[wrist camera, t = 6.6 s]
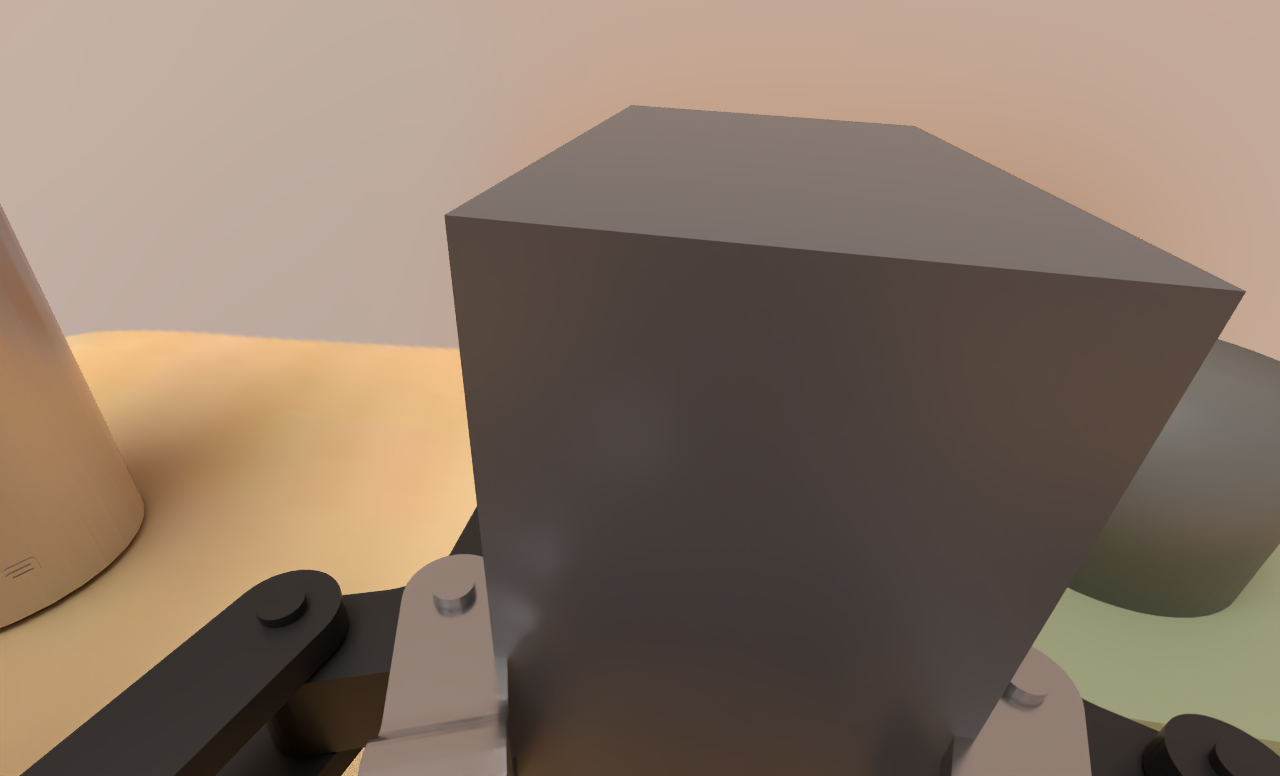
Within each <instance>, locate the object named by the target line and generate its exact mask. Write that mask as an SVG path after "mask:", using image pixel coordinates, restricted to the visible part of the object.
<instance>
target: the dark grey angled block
mask: <svg viewBox="0 0 1280 776" xmlns="http://www.w3.org/2000/svg"><path fill="white" fill-rule="evenodd" d="M445 224H446V233H447V241H448V250H449V259H450V268H451V277H452V286H453V294H454V304H455V312H456V322H457V330H458V339H459V348H460V357H461V366H462V375H463V384H464V393H465V401H466V410H467V419H468V428H469V437H470V446H471V455H472V464H473V472H474V481H475V490H476V499H477V508H478V517H479V526H480V535H481V543H482V552H483V561H484V570H485V579H486V588H487V597H488V606H489V614H490V623H491V632H492V641H493V650H494V657H496V658H502V659H507V663H508V674H509V684H510V723H511V750H512V757H516V758H517V767H518V776H939V772H940V763H941V759H942V757H943V755H944V753H945V752H946V750H947V748H948V746H949V745H950V743H951V741H952V739H953V738H954V736H959V737H965V738H971V739H976V738H977V736H978V734H979V733H980V731H981V729H982V728H983V726H984V725H985V723H986V721H987V720H988V718H989V716H990V715H991V713H992V711H993V710H994V708H995V706H996V705H997V703H998V701H999V700H1000V698H1001V696H1002V695H1003V693H1004V691H1005V690H1006V688H1007V686H1008V685H1009V683H1010V681H1011V680H1012V678H1013V676H1014V675H1015V673H1016V672H1017V670H1018V668H1019V667H1020V665H1021V663H1022V662H1023V660H1024V658H1025V657H1026V655H1027V653H1028V652H1029V650H1030V648H1031V647H1032V645H1033V643H1034V642H1035V640H1036V638H1037V637H1038V635H1039V633H1040V632H1041V630H1042V628H1043V627H1044V625H1045V624H1046V622H1047V620H1048V619H1049V617H1050V615H1051V614H1052V612H1053V610H1054V609H1055V607H1056V605H1057V604H1058V602H1059V600H1060V599H1061V597H1062V595H1063V594H1064V592H1065V590H1066V589H1067V587H1068V585H1069V584H1070V582H1071V580H1072V579H1073V577H1074V575H1075V574H1076V572H1077V571H1078V569H1079V567H1080V566H1081V564H1082V562H1083V561H1084V559H1085V557H1086V556H1087V554H1088V552H1089V551H1090V549H1091V547H1092V546H1093V544H1094V542H1095V541H1096V539H1097V537H1098V536H1099V534H1100V532H1101V531H1102V529H1103V527H1104V526H1105V524H1106V523H1107V521H1108V519H1109V518H1110V516H1111V514H1112V513H1113V511H1114V509H1115V508H1116V506H1117V504H1118V503H1119V501H1120V499H1121V498H1122V496H1123V494H1124V493H1125V491H1126V489H1127V488H1128V486H1129V484H1130V483H1131V481H1132V479H1133V478H1134V476H1135V474H1136V473H1137V471H1138V470H1139V468H1140V466H1141V465H1142V463H1143V461H1144V460H1145V458H1146V456H1147V455H1148V453H1149V451H1150V450H1151V448H1152V446H1153V445H1154V443H1155V441H1156V440H1157V438H1158V436H1159V435H1160V433H1161V431H1162V430H1163V428H1164V426H1165V425H1166V423H1167V422H1168V420H1169V418H1170V417H1171V415H1172V413H1173V412H1174V410H1175V408H1176V407H1177V405H1178V403H1179V402H1180V400H1181V398H1182V397H1183V395H1184V393H1185V392H1186V390H1187V388H1188V387H1189V385H1190V383H1191V382H1192V380H1193V378H1194V377H1195V375H1196V373H1197V372H1198V370H1199V369H1200V367H1201V365H1202V364H1203V362H1204V360H1205V359H1206V357H1207V355H1208V354H1209V352H1210V350H1211V349H1212V347H1213V345H1214V344H1215V342H1216V340H1217V339H1218V337H1219V335H1220V334H1221V332H1222V330H1223V329H1224V327H1225V325H1226V324H1227V322H1228V320H1229V319H1230V317H1231V315H1232V314H1233V312H1234V310H1235V309H1236V307H1237V305H1238V304H1239V302H1240V301H1241V299H1242V297H1243V296H1244V294H1245V292H1246V291H1244V290H1242V289H1240V288H1238V287H1236V286H1234V285H1232V284H1230V283H1228V282H1226V281H1224V280H1222V279H1220V278H1218V277H1216V276H1214V275H1212V274H1210V273H1208V272H1206V271H1204V270H1202V269H1200V268H1198V267H1196V266H1194V265H1192V264H1190V263H1188V262H1186V261H1184V260H1182V259H1180V258H1178V257H1176V256H1174V255H1172V254H1170V253H1168V252H1166V251H1164V250H1162V249H1160V248H1158V247H1156V246H1154V245H1152V244H1150V243H1148V242H1146V241H1144V240H1142V239H1140V238H1138V237H1136V236H1134V235H1132V234H1130V233H1128V232H1126V231H1124V230H1122V229H1120V228H1118V227H1116V226H1114V225H1112V224H1110V223H1108V222H1106V221H1104V220H1102V219H1100V218H1098V217H1096V216H1094V215H1092V214H1090V213H1088V212H1086V211H1084V210H1082V209H1080V208H1078V207H1076V206H1074V205H1072V204H1070V203H1068V202H1066V201H1064V200H1062V199H1060V198H1058V197H1056V196H1054V195H1052V194H1050V193H1048V192H1046V191H1044V190H1042V189H1040V188H1038V187H1036V186H1034V185H1032V184H1030V183H1028V182H1026V181H1024V180H1022V179H1020V178H1018V177H1016V176H1014V175H1012V174H1010V173H1008V172H1006V171H1004V170H1002V169H1000V168H998V167H996V166H994V165H992V164H989V163H988V162H986V161H984V160H981V159H980V158H978V157H975V156H974V155H972V154H970V153H968V152H966V151H964V150H962V149H960V148H957V147H955V146H953V145H951V144H950V143H948V142H945V141H943V140H942V139H939V138H938V137H935V136H934V135H931V134H930V133H928V132H926V131H924V130H922V129H919V128H917V127H915V126H906V125H892V124H879V123H864V122H852V121H851V122H850V121H838V120H824V119H810V118H797V117H783V116H770V115H756V114H742V113H729V112H716V111H702V110H689V109H688V110H687V109H675V108H661V107H648V106H634V105H631V106H629V107H628V108H626V109H624V110H622V111H621V112H619V113H617V114H616V115H614V116H612V117H611V118H609V119H607V120H606V121H604V122H602V123H600V124H599V125H597V126H595V127H594V128H592V129H590V130H588V131H587V132H585V133H583V134H582V135H580V136H578V137H577V138H575V139H573V140H571V141H570V142H568V143H566V144H565V145H563V146H561V147H560V148H558V149H556V150H555V151H553V152H551V153H549V154H548V155H546V156H544V157H543V158H541V159H539V160H537V161H536V162H534V163H532V164H531V165H529V166H527V167H526V168H524V169H522V170H520V171H519V172H517V173H515V174H514V175H512V176H510V177H509V178H507V179H505V180H503V181H502V182H500V183H498V184H497V185H495V186H493V187H491V188H490V189H488V190H486V191H485V192H483V193H481V194H480V195H478V196H476V197H475V198H473V199H471V200H470V201H468V202H466V203H464V204H463V205H461V206H459V207H458V208H456V209H454V210H452V211H451V212H449V213H447V214H446V215H445Z"/></svg>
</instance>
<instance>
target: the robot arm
mask: <svg viewBox="0 0 1280 776" xmlns="http://www.w3.org/2000/svg"><path fill="white" fill-rule="evenodd" d="M143 518H144V502H143V500H142V498H141V496H140V494H139V492H138V490H137V488H136V485H135V483H134V481H133V479H132V477H131V475H130V473H129V471H128V469H127V467H126V465H125V463H124V461H123V458H122V456H121V454H120V452H119V450H118V448H117V446H116V444H115V442H114V440H113V438H112V436H111V433H110V431H109V429H108V426H107V424H106V422H105V420H104V418H103V416H102V414H101V412H100V409H99V407H98V405H97V403H96V401H95V399H94V397H93V395H92V393H91V391H90V389H89V387H88V385H87V383H86V380H85V378H84V376H83V374H82V372H81V370H80V368H79V366H78V364H77V362H76V360H75V358H74V356H73V354H72V351H71V349H70V347H69V345H68V343H67V341H66V339H65V337H64V335H63V333H62V331H61V329H60V327H59V325H58V323H57V320H56V319H55V316H54V314H53V312H52V310H51V308H50V306H49V304H48V302H47V300H46V298H45V296H44V294H43V292H42V290H41V287H40V285H39V283H38V281H37V279H36V277H35V275H34V273H33V271H32V269H31V267H30V265H29V262H28V260H27V258H26V256H25V254H24V252H23V250H22V248H21V246H20V244H19V242H18V240H17V238H16V236H15V233H14V231H13V229H12V227H11V225H10V223H9V221H8V219H7V217H6V215H5V213H4V211H3V209H2V207H1V204H0V628H2V627H4V626H7V625H9V624H12V623H14V622H17V621H19V620H21V619H23V618H25V617H27V616H29V615H31V614H33V613H35V612H37V611H39V610H41V609H43V608H45V607H47V606H49V605H51V604H53V603H54V602H56V601H58V600H59V599H61V598H63V597H64V596H66V595H68V594H69V593H71V592H72V591H74V590H76V589H77V588H79V587H81V586H82V585H84V584H85V583H86V582H88V581H89V580H90V579H92V578H93V577H94V576H95V575H97V574H98V573H99V572H101V571H102V570H103V569H105V568H106V567H107V566H108V565H110V564H111V563H112V562H113V561H114V560H115V559H116V558H117V557H118V556H119V555H120V554H121V553H122V552H123V551H124V550H125V549H126V548H127V546H128V545H129V544H130V542H131V541H132V539H133V538H134V537H135V535H136V534H137V532H138V531H139V528H140V526H141V523H142V520H143ZM363 747H365V749H364V752H363V755H362V759H361V763H360V768H359V772H358V776H518V767H517V758H516V757H512V750H511V723H510V684H509V674H508V663H507V659H502V658H496V657H494V650H493V641H492V632H491V623H490V614H489V606H488V597H487V588H486V579H485V570H484V561H483V552H482V543H481V535H480V526H479V517H478V508H477V507H476V509H475V511H474V513H473V514H472V516H471V518H470V520H469V521H468V523H467V525H466V527H465V529H464V530H463V532H462V534H461V536H460V537H459V539H458V541H457V543H456V544H455V546H454V548H453V550H452V552H451V553H450V555H449V556H447V557H443V558H440V559H438V560H435V561H433V562H431V563H429V564H428V565H426V566H424V567H423V568H422V569H420V570H419V571H418V572H417V573H416V574H415V575H414V576H413V577H412V578H411V579H410V581H409V582H408V584H407V585H406V586H404V587H401V588H397V589H391V590H384V591H376V592H367V593H359V594H350V595H342V593H341V590H340V587H339V585H338V583H337V582H336V580H335V579H334V578H332V577H331V576H329V575H328V574H326V573H323V572H320V571H314V570H297V571H291V572H286V573H282V574H279V575H277V576H274V577H271V578H269V579H267V580H265V581H263V582H261V583H259V584H258V585H256V586H254V587H253V588H251V589H250V590H249V591H247V592H246V593H245V594H243V595H242V596H241V597H240V598H238V599H237V600H236V601H235V602H233V603H232V604H231V605H230V606H228V607H227V608H226V609H225V610H224V611H222V612H221V613H220V614H219V615H217V616H216V617H215V618H214V619H212V620H211V621H210V622H209V623H207V624H206V625H205V626H204V627H203V628H201V629H200V630H199V631H198V632H196V633H195V634H194V635H193V636H191V637H190V638H189V639H188V640H187V641H185V642H184V643H183V644H182V645H180V646H179V647H178V648H177V649H175V650H174V651H173V652H172V653H170V654H169V655H168V656H167V657H166V658H164V659H163V660H162V661H161V662H159V663H158V664H157V665H156V666H154V667H153V668H152V669H151V670H149V671H148V672H147V673H146V674H145V675H143V676H142V677H141V678H140V679H138V680H137V681H136V682H135V683H133V684H132V685H131V686H130V687H129V688H127V689H126V690H125V691H124V692H122V693H121V694H120V695H119V696H117V697H116V698H115V699H114V700H112V701H111V702H110V703H109V704H108V705H106V706H105V707H104V708H103V709H101V710H100V711H99V712H98V713H96V714H95V715H94V716H93V717H91V718H90V719H89V720H88V721H87V722H85V723H84V724H83V725H82V726H80V727H79V728H78V729H77V730H75V731H74V732H73V733H72V734H71V735H69V736H68V737H67V738H66V739H64V740H63V741H62V742H61V743H59V744H58V745H57V746H56V747H54V748H53V749H52V750H51V751H50V752H48V753H47V754H46V755H45V756H43V757H42V758H41V759H40V760H38V761H37V762H36V763H35V764H34V765H32V766H31V767H30V768H29V769H27V770H26V771H25V772H24V773H22V774H21V775H20V776H341V775H342V774H343V773H344V771H345V770H346V769H347V767H348V766H349V765H350V764H351V762H352V761H353V760H354V759H355V757H356V756H357V755H358V754H359V752H360V751H361V750H362V749H363ZM939 776H1280V756H1279V755H1277V754H1276V753H1275V752H1274V751H1273V750H1271V749H1270V748H1269V747H1267V746H1266V745H1265V744H1263V743H1262V742H1260V741H1259V740H1258V739H1256V738H1254V737H1253V736H1251V735H1249V734H1248V733H1246V732H1244V731H1243V730H1241V729H1239V728H1237V727H1235V726H1233V725H1231V724H1228V723H1226V722H1224V721H1221V720H1219V719H1215V718H1212V717H1209V716H1205V715H1199V714H1181V715H1177V716H1175V717H1173V718H1171V719H1170V720H1169V721H1168V722H1167V724H1166V725H1165V726H1164V727H1163V728H1162V729H1161V730H1160V731H1157V730H1155V729H1152V728H1150V727H1147V726H1145V725H1143V724H1140V723H1138V722H1135V721H1133V720H1131V719H1128V718H1126V717H1123V716H1121V715H1119V714H1116V713H1114V712H1111V711H1109V710H1107V709H1104V708H1102V707H1099V706H1097V705H1095V704H1093V703H1091V702H1089V701H1087V700H1085V699H1083V698H1081V695H1080V693H1079V691H1078V689H1077V688H1076V686H1075V684H1074V683H1073V681H1072V680H1071V679H1070V677H1069V676H1068V675H1067V674H1066V672H1065V671H1064V670H1063V669H1062V668H1061V667H1060V666H1059V665H1058V664H1056V663H1055V662H1054V661H1053V660H1052V659H1051V658H1049V657H1048V656H1046V655H1045V654H1044V653H1042V652H1041V651H1039V650H1038V649H1036V648H1034V647H1031V648H1030V650H1029V652H1028V653H1027V655H1026V657H1025V658H1024V660H1023V662H1022V663H1021V665H1020V667H1019V668H1018V670H1017V672H1016V673H1015V675H1014V676H1013V678H1012V680H1011V681H1010V683H1009V685H1008V686H1007V688H1006V690H1005V691H1004V693H1003V695H1002V696H1001V698H1000V700H999V701H998V703H997V705H996V706H995V708H994V710H993V711H992V713H991V715H990V716H989V718H988V720H987V721H986V723H985V725H984V726H983V728H982V729H981V731H980V733H979V734H978V736H977V738H976V739H971V738H965V737H959V736H954V738H953V739H952V741H951V743H950V745H949V746H948V748H947V750H946V752H945V753H944V755H943V757H942V759H941V763H940V772H939Z"/></svg>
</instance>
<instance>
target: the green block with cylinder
mask: <svg viewBox="0 0 1280 776" xmlns="http://www.w3.org/2000/svg"><path fill="white" fill-rule="evenodd" d="M1032 647H1034V648H1036V649H1038V650H1039V651H1041V652H1042V653H1044V654H1045V655H1046V656H1048V657H1049V658H1051V659H1052V660H1053V661H1054V662H1055V663H1056V664H1058V665H1059V666H1060V667H1061V668H1062V669H1063V670H1064V671H1065V672H1066V674H1067V675H1068V676H1069V677H1070V679H1071V680H1072V681H1073V683H1074V684H1075V686H1076V688H1077V689H1078V691H1079V693H1080V695H1081V698H1083V699H1085V700H1087V701H1089V702H1091V703H1093V704H1095V705H1097V706H1099V707H1102V708H1104V709H1107V710H1109V711H1111V712H1114V713H1116V714H1119V715H1121V716H1123V717H1126V718H1128V719H1131V720H1133V721H1135V722H1138V723H1140V724H1143V725H1145V726H1147V727H1150V728H1152V729H1155V730H1157V731H1160V730H1161V729H1162V728H1163V727H1164V726H1165V725H1166V724H1167V722H1168V721H1169V720H1170V719H1171V718H1173V717H1175V716H1177V715H1181V714H1199V715H1205V716H1209V717H1212V718H1215V719H1219V720H1221V721H1224V722H1226V723H1228V724H1231V725H1233V726H1235V727H1237V728H1239V729H1241V730H1243V731H1244V732H1246V733H1248V734H1249V735H1251V736H1253V737H1254V738H1256V739H1258V740H1259V741H1260V742H1262V743H1263V744H1265V745H1266V746H1267V747H1269V748H1270V749H1271V750H1273V751H1274V752H1275V753H1276V754H1277V755H1279V756H1280V361H1277V360H1275V359H1273V358H1270V357H1267V356H1265V355H1262V354H1260V353H1257V352H1255V351H1252V350H1249V349H1246V348H1243V347H1240V346H1237V345H1234V344H1231V343H1228V342H1225V341H1222V340H1218V339H1217V340H1216V342H1215V344H1214V345H1213V347H1212V349H1211V350H1210V352H1209V354H1208V355H1207V357H1206V359H1205V360H1204V362H1203V364H1202V365H1201V367H1200V369H1199V370H1198V372H1197V373H1196V375H1195V377H1194V378H1193V380H1192V382H1191V383H1190V385H1189V387H1188V388H1187V390H1186V392H1185V393H1184V395H1183V397H1182V398H1181V400H1180V402H1179V403H1178V405H1177V407H1176V408H1175V410H1174V412H1173V413H1172V415H1171V417H1170V418H1169V420H1168V422H1167V423H1166V425H1165V426H1164V428H1163V430H1162V431H1161V433H1160V435H1159V436H1158V438H1157V440H1156V441H1155V443H1154V445H1153V446H1152V448H1151V450H1150V451H1149V453H1148V455H1147V456H1146V458H1145V460H1144V461H1143V463H1142V465H1141V466H1140V468H1139V470H1138V471H1137V473H1136V474H1135V476H1134V478H1133V479H1132V481H1131V483H1130V484H1129V486H1128V488H1127V489H1126V491H1125V493H1124V494H1123V496H1122V498H1121V499H1120V501H1119V503H1118V504H1117V506H1116V508H1115V509H1114V511H1113V513H1112V514H1111V516H1110V518H1109V519H1108V521H1107V523H1106V524H1105V526H1104V527H1103V529H1102V531H1101V532H1100V534H1099V536H1098V537H1097V539H1096V541H1095V542H1094V544H1093V546H1092V547H1091V549H1090V551H1089V552H1088V554H1087V556H1086V557H1085V559H1084V561H1083V562H1082V564H1081V566H1080V567H1079V569H1078V571H1077V572H1076V574H1075V575H1074V577H1073V579H1072V580H1071V582H1070V584H1069V585H1068V587H1067V589H1066V590H1065V592H1064V594H1063V595H1062V597H1061V599H1060V600H1059V602H1058V604H1057V605H1056V607H1055V609H1054V610H1053V612H1052V614H1051V615H1050V617H1049V619H1048V620H1047V622H1046V624H1045V625H1044V627H1043V628H1042V630H1041V632H1040V633H1039V635H1038V637H1037V638H1036V640H1035V642H1034V643H1033V645H1032Z"/></svg>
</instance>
